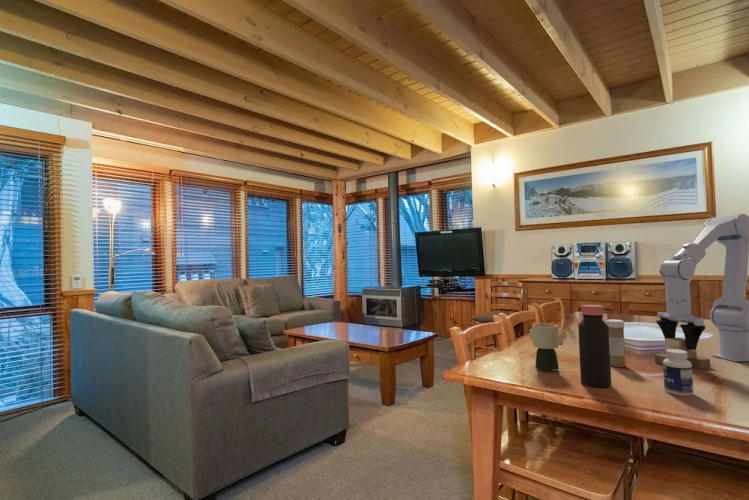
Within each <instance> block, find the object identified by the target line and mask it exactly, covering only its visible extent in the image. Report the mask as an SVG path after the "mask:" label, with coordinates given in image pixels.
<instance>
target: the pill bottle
mask: <svg viewBox="0 0 749 500" xmlns="http://www.w3.org/2000/svg"><path fill="white" fill-rule="evenodd" d="M665 354H666V356H667V357H668V358H666V359H664V361H663V365H662V366H663V367H662V369H663V385H664V386H663V388H664V391H665V392H667V393H669V394H671V395H675V396H681V397H683V396H684V397H688V396H689V397H690V396H692V395H694V382H693V381H694V380H693V370H692V364H691V363H690V362H689V361H688V360H686V359H687V352H686V351H684V350H678V349H667V350H666V349H665Z"/></svg>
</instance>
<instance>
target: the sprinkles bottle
mask: <svg viewBox="0 0 749 500" xmlns="http://www.w3.org/2000/svg"><path fill="white" fill-rule="evenodd" d="M605 323H606V324H607V325H608V327H609V347H610V367H611V366H612V367H615V368H624V367H626V365H627V364H626V346H625V345H626V344H625V332H624V331H625V329H624V328H625V321H624V320H622V319H616V318H615V319H606V320H605Z"/></svg>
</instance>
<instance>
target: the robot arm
mask: <svg viewBox="0 0 749 500" xmlns="http://www.w3.org/2000/svg"><path fill="white" fill-rule="evenodd" d="M702 228H703V229H702V231H701V232H700V234H698V236H697V237H696V238H695V240H693V242H688V243H684V244H683V245H682V247H681V248H680V249H679V250H678V251H677V252H676V254H673V257H672V258H671V259H666V260H664V261H663V262H662V263H661V264H660V267H659V269H658V273H659V275H660V276H661V278H662V282H663V285H664V286H665V301H666V303H665V304H666V312H664V311H657V320H656V324H657V326H658V327H659V328H660V330H661V333H662V335H663V338H664V339H665V338H676V333H677V327H678V324H679V323H682V324H680V325H679V326H680V328H681V330H682V332H683V336H684V338H685V341H686V347H687V349H688V350H696V351H697V347H698V343H699V340H700V338H701V336H702V334H703V332H704V331H705V330H706V325H705V322H704V320H705V319H704V318H702V317H697V316H695V315H692V300H691V298H692V297H691V284H690V283H691V280H690V279H692V277H694V275H695V272H696V269H697V265H698V264H699V263H700V262H701V261H702V260H703V258H705V257H706V254H707V251H706V249H708V248H709V247H710V246H711V245H712V244H714V242H716V243H718V244H720V245H723V246H724V247H725V248H726V249H725V261H724V270H723V271H724V273H723V286H722V296H721V297H720V298H718V299H716V300H714V302H713V304H712V308H711V310H710V312H709V320H710V321H711V323H712V325H714V327H715V329H717V330H718V347H719V353H712V354H711V356H712V357H717V358H720V359H724V360H728V361H732V362H736V363H737V362H749V300H748V299H746V294H747V281H748V280H747V279H748V268H749V215H747V214H745V213H740V214H733V215H725V216H715V217H714V216H712V217H709V218H707V220H706V221H705V222H704V223H703V227H702Z"/></svg>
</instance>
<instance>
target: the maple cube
mask: <svg viewBox="0 0 749 500" xmlns="http://www.w3.org/2000/svg"><path fill="white" fill-rule="evenodd" d="M664 340H665V341H664V342H665V351H666V350H667V349H678V350H684V351H686V352H687V359H692V358H697V349H696V350H688V349H687V347H686V341H685V337H675V338H664Z"/></svg>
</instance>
